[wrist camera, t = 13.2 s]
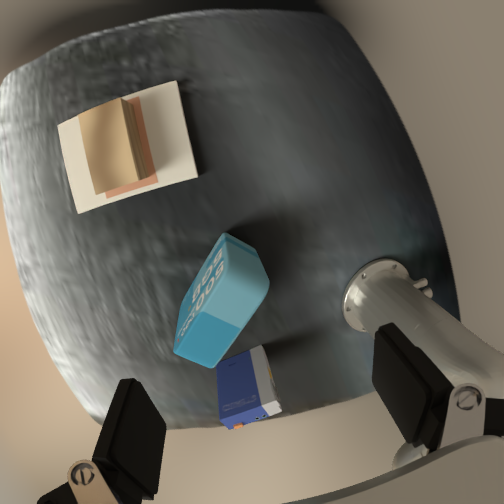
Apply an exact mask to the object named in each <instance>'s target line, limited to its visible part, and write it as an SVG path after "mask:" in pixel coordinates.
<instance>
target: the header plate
mask: <svg viewBox="0 0 504 504" xmlns="http://www.w3.org/2000/svg"><path fill="white" fill-rule="evenodd" d="M122 99H124V100H126V101H127V102H129V103H131V104H132V105H133V107H134V112H135V117H136V122H137V126H138V131H139V136H140V140H141V144H142V149H143V153H144V157H145V161H146V166H147V170H148V174H149V177H148V178H145V179H142V180H139V181H136V182H133V183H130V184H127V185H124V186H121V187H118V188H115V189H112V190H109V191H106V192H104V193H101V194H98V195H96V194H95V191H94V187H93V183H92V179H91V175H90V171H89V167H88V163H87V159H86V154H85V149H84V145H83V140H82V135H81V130H80V124H79V118H78V116H76V117H74V118H72V119H70V120H67V121H65V122H63V123H61V124H59V125H58V131H59V137H60V142H61V147H62V152H63V157H64V162H65V166H66V170H67V175H68V179H69V183H70V187H71V190H72V194H73V198H74V201H75V205H76V208H77V212H78V214H80V213H82V212H85V211H88V210H91V209H93V208H96V207H99V206H102V205H105V204H108V203H111V202H114V201H117V200H120V199H123V198H126V197H129V196H133V195H136V194H139V193H142V192H146V191H149V190H152V189H156V188H159V187H163V186H166V185H170V184H173V183H177V182H181V181H184V180H188V179H192V178H196V177H198V173H197V168H196V164H195V160H194V156H193V151H192V147H191V143H190V138H189V134H188V129H187V125H186V120H185V116H184V111H183V107H182V102H181V97H180V93H179V88H178V83H177V81H172V82H168V83H165V84H161V85H158V86H155V87H151V88H148V89H145V90H142V91H139V92H136V93H133V94H130V95H127V96H125V97H122Z"/></svg>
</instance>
